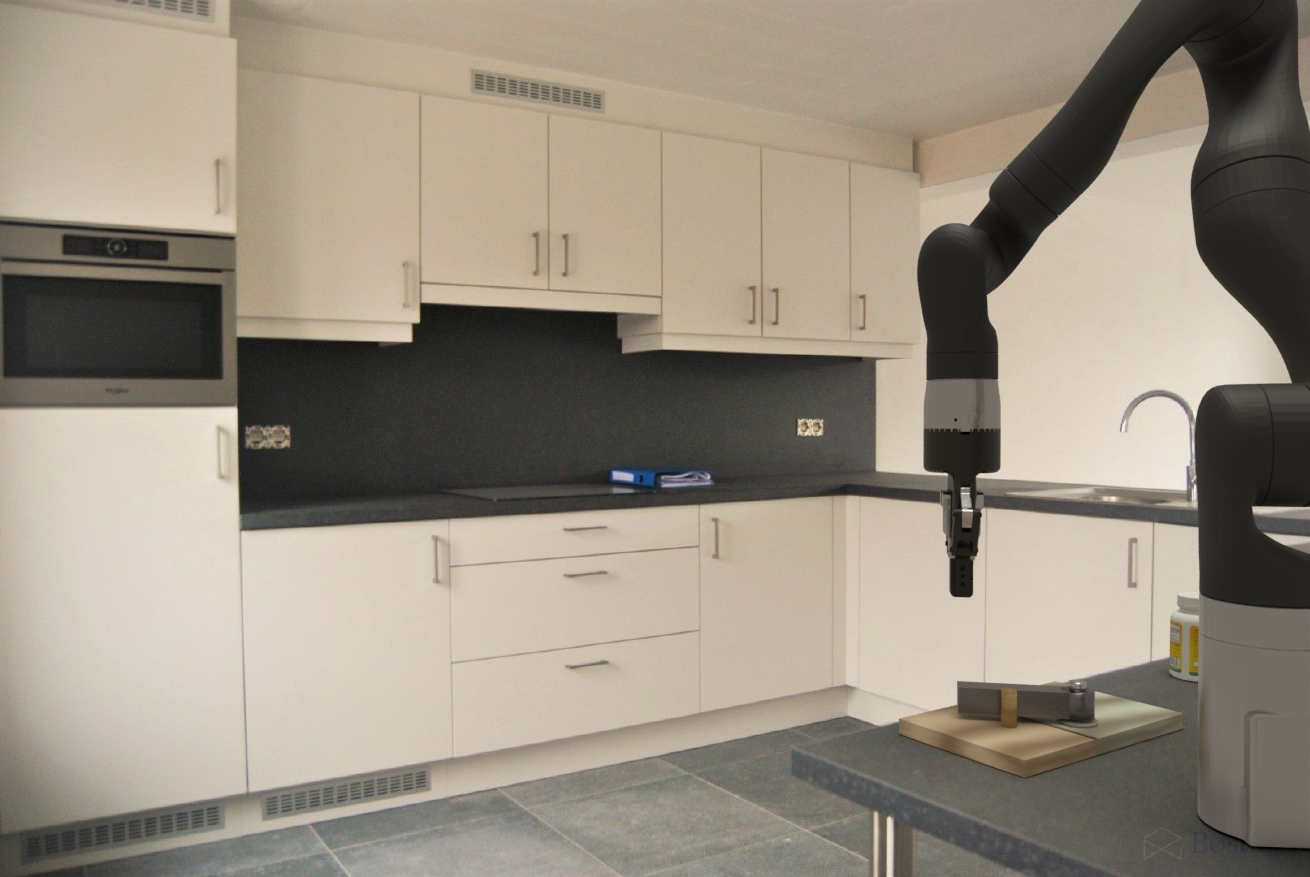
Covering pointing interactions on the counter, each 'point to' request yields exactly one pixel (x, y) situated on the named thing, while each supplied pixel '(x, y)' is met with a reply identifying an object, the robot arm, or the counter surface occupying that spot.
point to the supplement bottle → (1185, 637)
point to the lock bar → (1029, 700)
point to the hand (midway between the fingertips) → (961, 596)
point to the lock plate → (1039, 732)
